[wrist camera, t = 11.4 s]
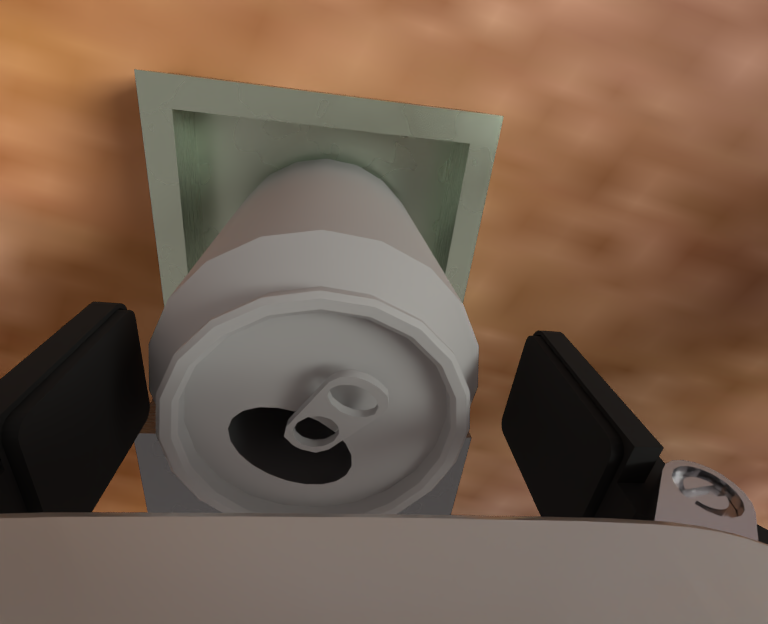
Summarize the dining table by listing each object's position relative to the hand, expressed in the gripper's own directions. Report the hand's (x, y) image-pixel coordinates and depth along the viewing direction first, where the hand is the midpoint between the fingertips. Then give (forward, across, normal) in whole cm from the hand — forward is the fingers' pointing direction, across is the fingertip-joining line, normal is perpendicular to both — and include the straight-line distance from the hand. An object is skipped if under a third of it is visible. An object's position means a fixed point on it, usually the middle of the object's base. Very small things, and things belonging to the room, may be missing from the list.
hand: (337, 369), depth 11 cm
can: (+10, +1, 0) cm, 10 cm away
